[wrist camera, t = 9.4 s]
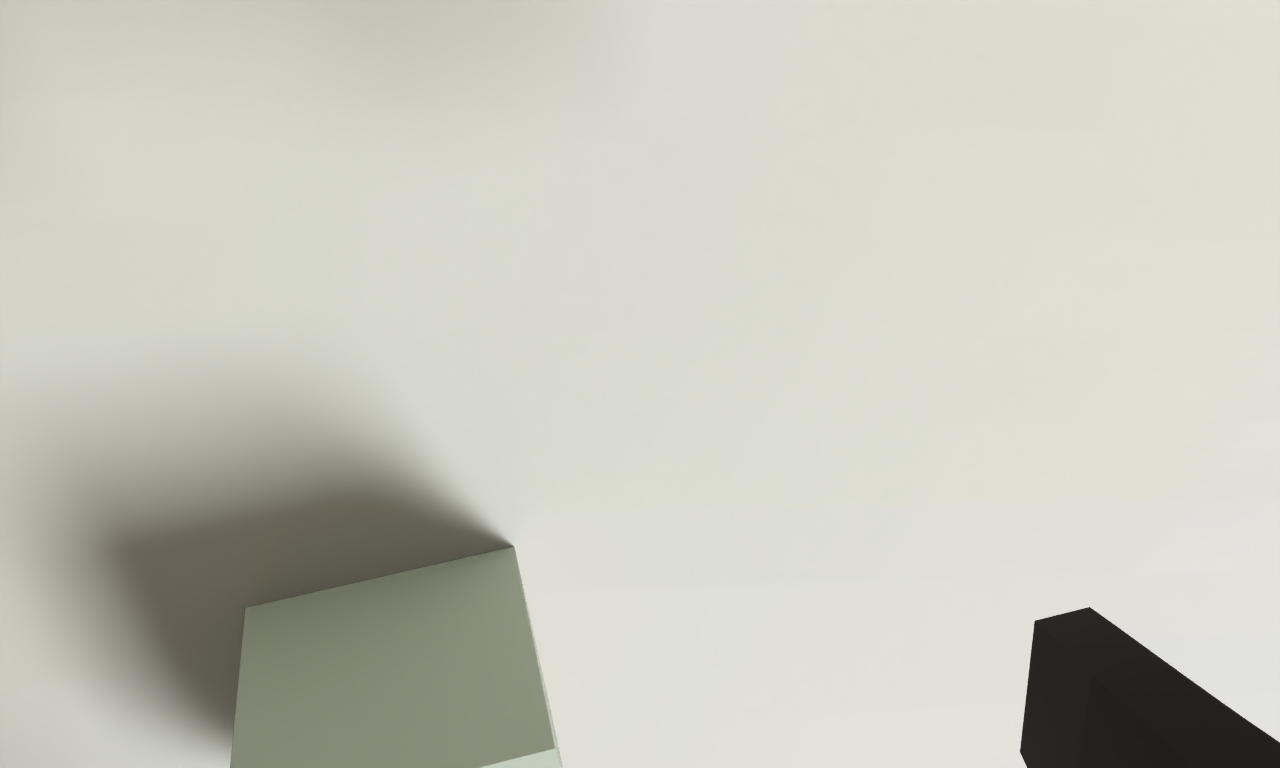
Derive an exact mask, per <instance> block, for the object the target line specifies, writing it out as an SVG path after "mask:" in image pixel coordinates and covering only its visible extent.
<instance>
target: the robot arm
mask: <svg viewBox="0 0 1280 768" xmlns="http://www.w3.org/2000/svg"><path fill="white" fill-rule="evenodd" d="M1020 753H1021V755H1022V757H1023V759H1024V761H1025V763H1026V766H1027V768H1280V742H1278V741H1277V740H1275V739H1274V738H1272V737H1271V736H1269V735H1268V734H1267V733H1265V732H1264V731H1262V730H1261V729H1259V728H1258V727H1256V726H1255V725H1253V724H1252V723H1250V722H1249V721H1247V720H1246V719H1245V718H1243V717H1242V716H1240V715H1239V714H1237V713H1236V712H1235V711H1233V710H1232V709H1230V708H1229V707H1228V706H1226V705H1225V704H1223V703H1222V702H1220V701H1219V700H1218V699H1216V698H1215V697H1213V696H1212V695H1211V694H1209V693H1208V692H1206V691H1205V690H1204V689H1202V688H1201V687H1200V686H1198V685H1197V684H1195V683H1194V682H1193V681H1191V680H1190V679H1188V678H1187V677H1186V676H1184V675H1183V674H1181V673H1180V672H1179V671H1177V670H1176V669H1175V668H1173V667H1172V666H1170V665H1169V664H1168V663H1166V662H1165V661H1163V660H1162V659H1161V658H1159V657H1158V656H1157V655H1155V654H1154V653H1152V652H1151V651H1150V650H1148V649H1147V648H1146V647H1144V646H1143V645H1142V644H1140V643H1139V642H1137V641H1136V640H1135V639H1133V638H1132V637H1130V636H1129V635H1128V634H1126V633H1125V632H1124V631H1122V630H1121V629H1119V628H1118V627H1117V626H1115V625H1114V624H1112V623H1111V622H1110V621H1108V620H1107V619H1105V618H1104V617H1103V616H1101V615H1100V614H1098V613H1097V612H1096V611H1094V610H1093V609H1091V608H1090V607H1088V608H1084V609H1080V610H1076V611H1072V612H1068V613H1064V614H1060V615H1056V616H1052V617H1048V618H1044V619H1040V620H1036V621H1035V624H1034V633H1033V642H1032V650H1031V659H1030V668H1029V677H1028V686H1027V695H1026V704H1025V713H1024V722H1023V731H1022V740H1021V749H1020Z"/></svg>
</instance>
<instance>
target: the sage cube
mask: <svg viewBox="0 0 1280 768" xmlns="http://www.w3.org/2000/svg"><path fill="white" fill-rule="evenodd" d="M230 768H563V767H562V763H561V758H560V753H559V748H558V743H557V738H556V733H555V729H554V724H553V719H552V715H551V710H550V706H549V701H548V697H547V692H546V688H545V683H544V679H543V674H542V670H541V665H540V661H539V656H538V652H537V647H536V643H535V638H534V634H533V629H532V625H531V620H530V616H529V611H528V607H527V602H526V597H525V593H524V588H523V584H522V579H521V575H520V570H519V566H518V561H517V557H516V552H515V548H514V547H509V548H505V549H501V550H496V551H492V552H488V553H483V554H479V555H474V556H470V557H466V558H461V559H457V560H453V561H448V562H444V563H439V564H435V565H431V566H426V567H422V568H418V569H413V570H409V571H404V572H400V573H396V574H391V575H387V576H383V577H378V578H374V579H369V580H365V581H361V582H356V583H352V584H347V585H343V586H339V587H334V588H330V589H326V590H321V591H317V592H312V593H308V594H304V595H299V596H295V597H291V598H286V599H282V600H277V601H273V602H269V603H264V604H260V605H256V606H251V607H247V608H245V618H244V628H243V638H242V649H241V659H240V670H239V680H238V691H237V701H236V712H235V722H234V733H233V743H232V754H231V764H230Z"/></svg>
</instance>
